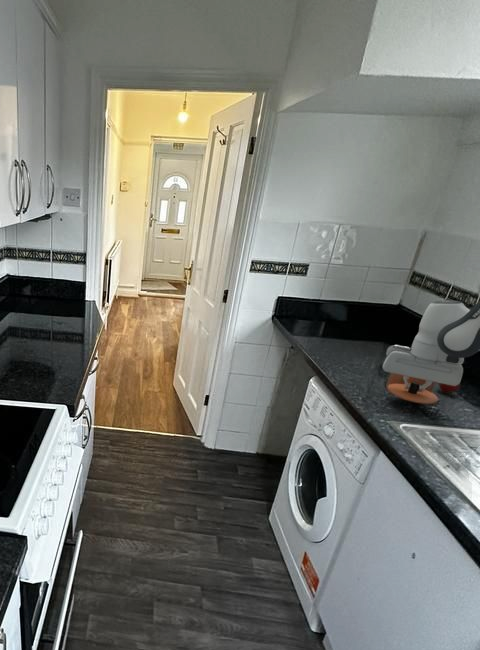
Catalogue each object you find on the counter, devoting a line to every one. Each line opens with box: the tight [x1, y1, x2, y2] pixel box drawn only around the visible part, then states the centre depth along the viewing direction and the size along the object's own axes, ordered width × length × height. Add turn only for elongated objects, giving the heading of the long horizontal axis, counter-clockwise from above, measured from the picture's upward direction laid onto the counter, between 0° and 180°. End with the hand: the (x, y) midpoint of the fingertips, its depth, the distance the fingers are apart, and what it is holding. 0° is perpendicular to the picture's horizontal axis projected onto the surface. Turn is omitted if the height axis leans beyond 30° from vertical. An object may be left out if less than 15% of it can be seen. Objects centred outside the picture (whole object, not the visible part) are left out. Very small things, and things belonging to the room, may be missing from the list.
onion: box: [438, 382, 461, 394], centre depth 147 cm, size 6×6×8 cm
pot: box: [385, 372, 436, 393], centre depth 146 cm, size 13×13×10 cm
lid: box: [386, 381, 439, 405], centre depth 136 cm, size 14×14×5 cm
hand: (413, 390), depth 136 cm, fingers closed on lid, 2 cm apart
